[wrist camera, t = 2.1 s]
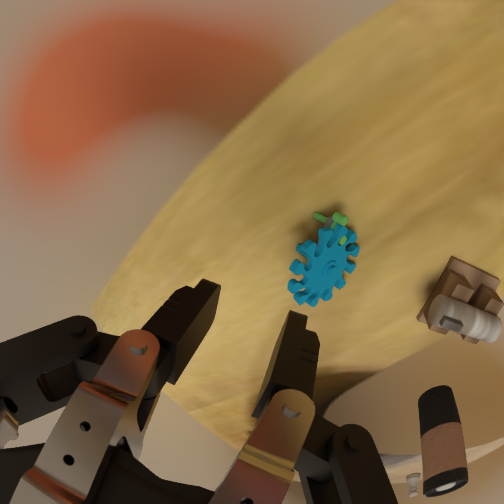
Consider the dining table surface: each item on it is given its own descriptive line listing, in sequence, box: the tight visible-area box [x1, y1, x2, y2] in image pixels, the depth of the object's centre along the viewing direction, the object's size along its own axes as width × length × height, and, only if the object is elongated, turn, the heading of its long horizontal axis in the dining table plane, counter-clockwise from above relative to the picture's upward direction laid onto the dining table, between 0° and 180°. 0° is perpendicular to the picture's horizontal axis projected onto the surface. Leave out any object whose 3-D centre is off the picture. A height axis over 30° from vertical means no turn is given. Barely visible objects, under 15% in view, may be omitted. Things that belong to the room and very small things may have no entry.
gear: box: [288, 212, 360, 307], centre depth 31 cm, size 11×6×10 cm
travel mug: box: [418, 385, 468, 497], centre depth 30 cm, size 8×8×20 cm
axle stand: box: [417, 256, 504, 344], centre depth 27 cm, size 12×10×8 cm
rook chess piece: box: [407, 473, 420, 497], centre depth 50 cm, size 4×4×8 cm
